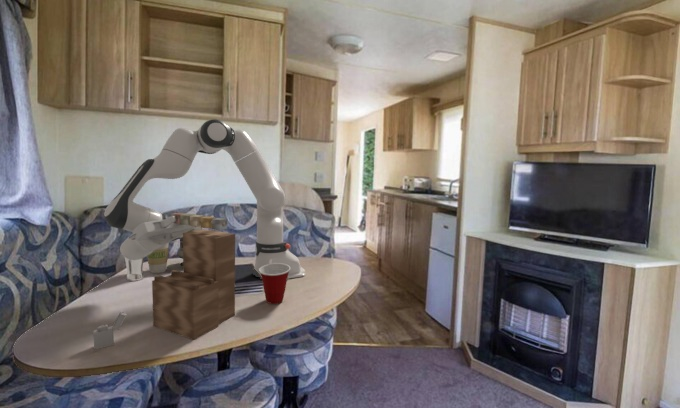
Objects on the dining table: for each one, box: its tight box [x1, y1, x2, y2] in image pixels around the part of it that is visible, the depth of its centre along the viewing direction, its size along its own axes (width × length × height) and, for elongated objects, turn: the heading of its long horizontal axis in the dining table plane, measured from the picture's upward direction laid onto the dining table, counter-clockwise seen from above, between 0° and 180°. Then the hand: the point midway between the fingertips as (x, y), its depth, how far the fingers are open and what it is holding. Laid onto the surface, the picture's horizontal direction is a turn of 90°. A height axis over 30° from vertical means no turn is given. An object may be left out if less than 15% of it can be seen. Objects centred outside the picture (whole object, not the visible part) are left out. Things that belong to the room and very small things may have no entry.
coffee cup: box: [146, 242, 170, 274], centre depth 150 cm, size 10×10×15 cm
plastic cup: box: [259, 263, 290, 305], centre depth 123 cm, size 11×11×12 cm
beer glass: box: [123, 256, 145, 282], centre depth 139 cm, size 7×7×15 cm
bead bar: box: [171, 212, 228, 231], centre depth 108 cm, size 20×3×3 cm, turn 65°
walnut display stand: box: [151, 228, 236, 341], centre depth 104 cm, size 16×17×26 cm
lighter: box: [93, 311, 127, 350], centre depth 91 cm, size 7×2×8 cm, turn 126°
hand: (181, 216), depth 111 cm, fingers closed on bead bar, 3 cm apart
